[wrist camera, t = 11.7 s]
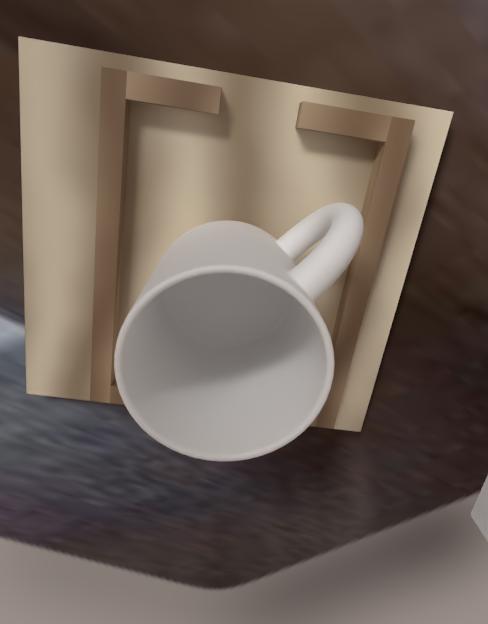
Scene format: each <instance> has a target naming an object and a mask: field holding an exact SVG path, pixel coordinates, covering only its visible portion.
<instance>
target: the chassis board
mask: <svg viewBox="0 0 488 624" xmlns="http://www.w3.org/2000/svg"><path fill="white" fill-rule="evenodd" d="M18 43H19V86H20V129H21V172H22V214H23V257H24V300H25V343H26V386H27V394H34V395H43V396H52V397H61V398H69V399H78V400H87V401H95V402H103V403H112V404H121V405H124V402H123V400H122V398H121V395H120V393H119V390H118V386H117V382H116V378H115V370H114V353H115V347H116V342H117V338H118V335H119V332H120V329H121V327H122V325H123V323H124V321H125V319H126V317H127V315H128V314H129V312H130V310H131V309H132V307H133V305H134V304H135V302H136V300H137V299H138V297H139V295H140V294H141V292H142V290H143V289H144V287H145V285H146V284H147V282H148V280H149V279H150V277H151V275H152V273H153V272H154V270H155V268H156V267H157V265H158V263H159V262H160V260H161V258H162V257H163V256H164V254H165V253H166V251H167V250H168V248H169V247H170V246H171V245H172V244H173V243H174V242H175V241H176V240H177V239H178V238H179V237H181V236H182V235H183V234H184V233H186V232H188V231H189V230H191V229H193V228H195V227H197V226H200V225H202V224H206V223H209V222H214V221H226V220H231V221H240V222H244V223H248V224H251V225H254V226H256V227H258V228H260V229H262V230H264V231H265V232H267V233H269V234H270V235H272V236H273V237H274V238H276V239H277V240H278V239H279V238H280V237H281V236H283V235H284V234H285V233H286V232H287V231H289V230H290V229H291V228H292V227H294V226H295V225H296V224H297V223H299V222H300V221H301V220H303V219H304V218H305V217H307V216H308V215H310V214H311V213H313V212H315V211H316V210H318V209H320V208H322V207H324V206H326V205H330V204H333V203H339V202H343V203H347V204H351V205H353V206H354V207H356V208H357V209H358V210H359V211H360V213H361V215H362V218H363V222H364V233H363V237H362V240H361V243H360V245H359V247H358V250H357V252H356V254H355V255H354V257H353V259H352V261H351V262H350V263H349V265H348V266H347V268H346V269H345V271H344V272H343V273H342V274H341V275H340V277H339V278H338V279H337V280H336V281H335V282H334V283H333V285H332V286H331V287H330V288H329V289H328V290H327V291H326V292H325V293H324V294H323V295H322V296H321V297H320V298H319V299H318V300H317V301H316V302H315V305H316V307H317V309H318V311H319V313H320V314H321V316H322V318H323V320H324V322H325V324H326V326H327V329H328V331H329V334H330V337H331V340H332V345H333V349H334V362H335V364H334V376H333V381H332V385H331V389H330V392H329V394H328V397H327V400H326V402H325V404H324V406H323V407H322V409H321V411H320V413H319V414H318V415H317V417H316V418H315V419H314V421H313V422H312V423H311V424H310V425H309V426H313V427H321V428H330V429H340V430H348V431H357V432H361V428H362V425H363V421H364V418H365V415H366V411H367V408H368V404H369V401H370V397H371V394H372V390H373V387H374V384H375V380H376V377H377V373H378V370H379V366H380V363H381V360H382V356H383V353H384V349H385V346H386V342H387V339H388V335H389V332H390V329H391V325H392V322H393V318H394V315H395V311H396V308H397V305H398V301H399V298H400V294H401V291H402V287H403V284H404V280H405V277H406V274H407V270H408V267H409V263H410V260H411V256H412V253H413V250H414V246H415V243H416V239H417V236H418V232H419V229H420V225H421V222H422V219H423V215H424V212H425V208H426V205H427V201H428V198H429V194H430V191H431V188H432V184H433V181H434V177H435V174H436V170H437V167H438V164H439V160H440V157H441V153H442V150H443V146H444V143H445V139H446V136H447V133H448V129H449V126H450V122H451V119H452V115H453V112H450V111H445V110H439V109H433V108H428V107H422V106H416V105H410V104H405V103H399V102H393V101H387V100H382V99H376V98H370V97H364V96H359V95H353V94H347V93H341V92H336V91H330V90H324V89H318V88H313V87H307V86H301V85H295V84H290V83H284V82H278V81H272V80H267V79H261V78H255V77H249V76H244V75H238V74H232V73H226V72H221V71H215V70H209V69H203V68H198V67H192V66H186V65H180V64H175V63H169V62H163V61H157V60H152V59H146V58H140V57H134V56H129V55H123V54H117V53H112V52H106V51H100V50H94V49H89V48H83V47H77V46H71V45H66V44H60V43H54V42H48V41H43V40H37V39H31V38H25V37H20V36H18ZM322 239H323V238H322ZM322 239H321V240H319V241H318V242H317V243H315V244H314V245H313V246H312V247H310V248H309V249H308V250H307V251H306V252H305V253H303V254H302V255H301V256H300V257H299V258H298V259H297V260H296V261H295V265H298V264H299V263H300V262H301V261H302V260H303V259H304V258H306V257H307V256H308V255H309V254H310V253H311V252H312V251H313V250H314V249H315V248H316V247H317V245H318V244H319V243H320V242H321V241H322Z"/></svg>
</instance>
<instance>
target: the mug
mask: <svg viewBox="0 0 488 624" xmlns="http://www.w3.org/2000/svg"><path fill="white" fill-rule="evenodd" d="M363 233H364V222H363V218H362V215H361V213H360V211H359V210H358V209H357V208H356V207H354V206H353V205H351V204H347V203H343V202H339V203H333V204H330V205H326V206H324V207H322V208H320V209H318V210H316V211H315V212H313V213H311V214H310V215H308V216H307V217H305V218H304V219H303V220H301V221H300V222H299V223H297V224H296V225H295V226H294V227H292V228H291V229H290V230H289V231H287V232H286V233H285V234H284V235H283V236H281V237H280V238H279V239H278V240H277V239H276V238H274V237H273V236H272V235H270V234H269V233H267V232H265V231H264V230H262V229H260V228H258V227H256V226H254V225H251V224H248V223H244V222H240V221H231V220H226V221H214V222H209V223H206V224H202V225H200V226H197V227H195V228H193V229H191V230H189V231H188V232H186V233H184V234H183V235H182V236H181V237H179V238H178V239H177V240H176V241H175V242H174V243H173V244H172V245H171V246H170V247H169V248H168V250H167V251H166V253H165V254H164V256H163V257H162V258H161V260H160V262H159V263H158V265H157V267H156V268H155V270H154V272H153V273H152V275H151V277H150V279H149V280H148V282H147V284H146V285H145V287H144V289H143V290H142V292H141V294H140V295H139V297H138V299H137V300H136V302H135V304H134V305H133V307H132V309H131V310H130V312H129V314H128V315H127V317H126V319H125V321H124V323H123V325H122V327H121V329H120V332H119V335H118V338H117V342H116V347H115V353H114V370H115V378H116V382H117V386H118V390H119V393H120V395H121V398H122V400H123V402H124V405H125V406H126V408H127V410H128V411H129V413H130V414H131V416H132V417H133V418H134V420H135V421H136V422H137V423H138V425H139V426H140V427H141V428H142V429H143V430H144V431H145V432H147V433H148V434H149V435H150V436H151V437H153V438H154V439H155V440H157V441H158V442H159V443H161V444H163V445H165V446H166V447H168V448H170V449H172V450H174V451H177V452H179V453H181V454H184V455H187V456H191V457H194V458H198V459H204V460H210V461H238V460H246V459H251V458H255V457H259V456H262V455H265V454H267V453H270V452H273V451H275V450H277V449H279V448H281V447H283V446H285V445H286V444H288V443H289V442H291V441H292V440H294V439H295V438H296V437H298V436H299V435H300V434H301V433H302V432H304V431H305V430H306V429H307V427H308V426H309V425H310V424H311V423H312V422H313V421H314V419H315V418H316V417H317V415H318V414H319V413H320V411H321V409H322V407H323V406H324V404H325V402H326V400H327V397H328V394H329V392H330V389H331V385H332V381H333V376H334V364H335V362H334V349H333V345H332V340H331V337H330V334H329V331H328V329H327V326H326V324H325V322H324V320H323V318H322V316H321V314H320V313H319V311H318V309H317V307H316V305H315V302H316V301H317V300H318V299H319V298H320V297H321V296H322V295H323V294H324V293H325V292H326V291H327V290H328V289H329V288H330V287H331V286H332V285H333V283H334V282H335V281H336V280H337V279H338V278H339V277H340V275H341V274H342V273H343V272H344V271H345V269H346V268H347V266H348V265H349V263H350V262H351V261H352V259H353V257H354V255H355V254H356V252H357V250H358V247H359V245H360V243H361V240H362V237H363ZM322 238H323V239H322ZM321 239H322V241H321V242H320V243H319V244H318V245H317V247H316V248H315V249H314V250H313V251H312V252H311V253H310V254H309V255H308V256H307V257H306V258H304V259H303V260H302V261H301V262H300V263H299V264H298V265H295V261H296V260H297V259H298V258H299V257H300V256H301V255H302V254H303V253H305V252H306V251H307V250H308V249H309V248H310V247H312V246H313V245H314V244H315V243H317V242H318V241H319V240H321Z"/></svg>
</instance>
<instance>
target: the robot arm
mask: <svg viewBox="0 0 488 624" xmlns="http://www.w3.org/2000/svg"><path fill="white" fill-rule="evenodd" d="M471 517H472V518H473V520H474V521H475V523H476V524H477V526H478V527H479V529H480V531H481V532H482V534H483V535H484V537H485V538H486V540H487V542H488V476H487V478H486V480H485V483H484V485H483V487H482V489H481V492H480V494H479V496H478V498H477V501H476V503H475V505H474V507H473V510H472V512H471Z"/></svg>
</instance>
